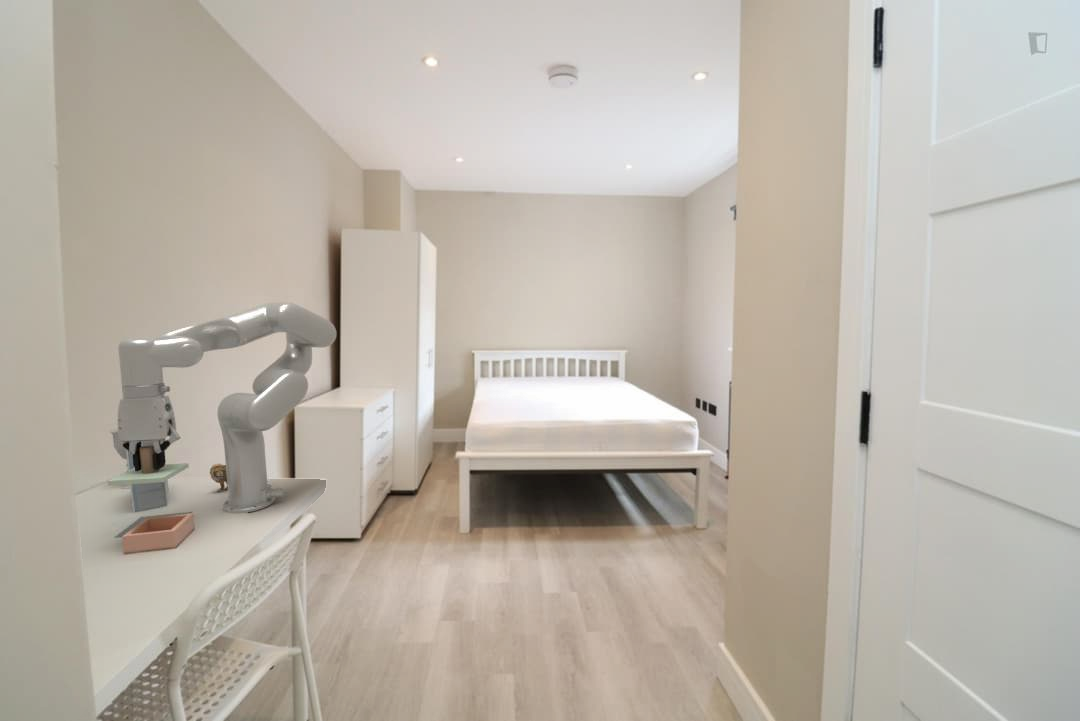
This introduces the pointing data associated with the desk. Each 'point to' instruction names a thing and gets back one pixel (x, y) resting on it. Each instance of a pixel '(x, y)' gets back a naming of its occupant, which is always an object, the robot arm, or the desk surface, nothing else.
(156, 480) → the lid
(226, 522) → the desk surface
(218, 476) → the lion figurine
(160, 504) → the hard drive box
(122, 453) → the chalice
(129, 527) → the mat
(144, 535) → the dish
